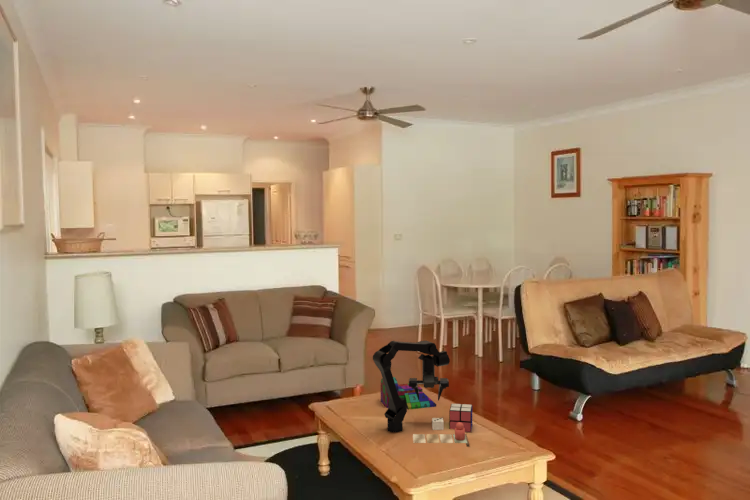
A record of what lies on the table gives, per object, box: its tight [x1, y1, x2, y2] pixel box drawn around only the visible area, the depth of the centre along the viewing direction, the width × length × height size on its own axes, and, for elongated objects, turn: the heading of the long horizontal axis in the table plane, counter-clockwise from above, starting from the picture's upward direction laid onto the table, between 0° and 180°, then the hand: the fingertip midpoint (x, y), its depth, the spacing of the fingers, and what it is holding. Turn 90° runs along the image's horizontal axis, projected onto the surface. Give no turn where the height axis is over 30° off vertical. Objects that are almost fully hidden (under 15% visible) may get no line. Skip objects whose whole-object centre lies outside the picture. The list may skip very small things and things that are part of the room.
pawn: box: [454, 422, 466, 440], centre depth 277 cm, size 4×4×7 cm
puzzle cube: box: [448, 403, 473, 433], centre depth 293 cm, size 10×10×10 cm
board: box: [412, 433, 470, 448], centre depth 278 cm, size 25×12×1 cm, turn 88°
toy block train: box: [380, 376, 437, 411], centre depth 329 cm, size 25×17×14 cm
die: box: [431, 417, 445, 431], centre depth 291 cm, size 5×5×5 cm
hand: (428, 400), depth 297 cm, fingers open, 9 cm apart
